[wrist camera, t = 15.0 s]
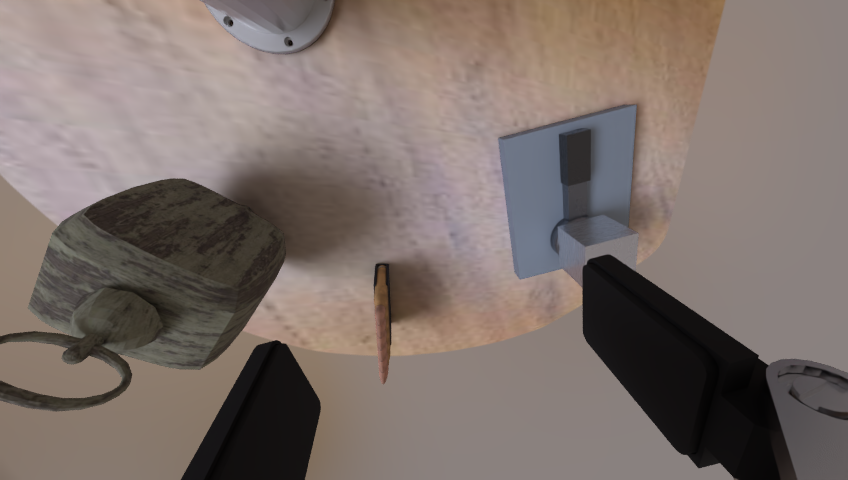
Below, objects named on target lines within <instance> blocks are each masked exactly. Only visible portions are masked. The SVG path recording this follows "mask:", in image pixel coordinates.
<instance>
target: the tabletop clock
mask: <svg viewBox="0 0 848 480" xmlns="http://www.w3.org/2000/svg"><path fill="white" fill-rule="evenodd" d="M285 255H286V251H285V241H284V233H283V232H282V231H281V230H279V229H278V228H277V227H276V226H274V225H273V224H271V223H270V222H268V221H266V220H265V219H263V218H261V217H259V216H258V215H256V214H254V213H253V212H252V211H251V209H250V208H249V207H247V206H240V205H239V204H237V203H235V202H233V201H231V200H229V199H227V198H225V197H223V196H221V195H219V194H218V193H216V192H214V191H212V190H210V189H208V188H206V187H204V186H202V185H199V184H197V183H195V182H192V181H189V180H186V179H166V180H160V181H156V182H152V183H148V184H145V185H141V186H137V187H133V188H130V189H128V190H125V191H123V192H120V193H118V194H115V195H112V196H110V197H107V198H105V199H102V200H100V201H98V202H96V203H94V204H92V205H90V206H88V207H86V208H84V209H83V210H81V211H79V212H77V213H75V214H73V215H72V216H70V217H69V218H67V219H65V220H64V221H62V222H61V223H60V225H59V226H58V227H57V228H56V229H55V231H54V232H53V233H52V236H51V239H50V242H49V245H48V248H47V251H46V254H45V257H44V260H43V263H42V267H41V270H40V272H39V276H38V278H37V282H36V285H35V288H34V291H33V294H32V297H31V300H30V303H29V306H28V309H29V310H30V311H31V312H33V313H34V314H35V315H36V316H37V317H38V318H39V319H40V320H41V321H43V322H45V323H46V324H48V325H50V326H51V327H53V328H56V329H58V330H60V331H62V332H64V333H67V334H70V335H72V336H69V335H64V334H58V333H57V334H56V333H47V332H35V331H33V332H23V333H13V334H8V335H4V336H0V344H2V343H6V342H23V341H24V342H25V341H32V342H39V343H47V344H55V345H59V346H62V347H65V348H68V349H67V350H66V351H65V352H64V353H63V355H62V360H63V361H64V362H66V363H67V364H76V363H79V362H82V361H83V360H84V359H86V358H87V357H88V356H92V357H95V358H98V359H101V360H103V361H105V362H106V363H107V364H109V365H110V366H112V367H113V368H115V369H116V370H117V371H118V373H119V374H120V376H121V377H122V381H121V383H120V385H119V386H118V387H117V388H115V389H114V390H112V391H110V392H107V393H105V394H102V395H97V396H92V397H87V398H59V397H53V396H47V395H41V394H37V393H34V392H30V391H27V390H23V389H20V388H17V387H14V386H12V385H9V384H7V383H5V382H2V381H0V401H4V402H8V403H12V404H15V405H19V406H22V407H26V408H33V409H40V410H48V411H67V410H81V409H85V408H89V407H93V406H97V405H101V404H104V403H106V402H108V401H110V400H112V399H114V398H116V397H117V396H119V395H120V394H121V393H122V392H124V391H125V390H126V389H127V387H128V386H129V384H130V382H131V378H132V373H131V370H130V367H129V364H128V363H127V362H126V361H125V360H124V359H122V358H121V357H120V356H119V355H118V354H121V355H125V356H128V357H132V358H136V359H140V360H143V361H146V362H150V363H154V364H157V365H161V366H165V367H169V368H177V369H198V370H199V369H201V368H203V367H205V366H206V365H208V364H209V363H211V362H212V361H214V360H215V359H217V358H218V357H219V356H220V355H221V354H222V353H223V352H224V351H225V350H226V349H227V348H228V347H229V346H230V344H231V343H232V342H233V341H234V339H235V338H236V337H237V336H238V335H239V333H240V332H241V331H242V330H243V328H244V327H245V326H246V324H247V323H248V321H249V319H250V318H251V316H252V315H253V313H254V312H255V310H256V308H257V307H258V305H259V304H260V302H261V301H262V299H263V297H264V296H265V294H266V293H267V291H268V290H269V288H270V286H271V285H272V283H273V282H274V280H275V279H276V277H277V275H278V273H279V271H280V269H281V267H282V264H283V262H284V259H285Z"/></svg>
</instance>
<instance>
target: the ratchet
mask: <svg viewBox="0 0 848 480" xmlns="http://www.w3.org/2000/svg"><path fill="white" fill-rule="evenodd" d="M559 153H560V179H561V183H562V191H563V219H562V220H560V221H559V222H558V223H557V224H556V226H555V227H554V229H553V230H552V233H551V237H550V244H551V247H552V249H553V250H554V251H555V252H556V253H557V254H558V255H559V244H558V226H562V225H566V224H569V223H573V222H577V221H581V220H585V219H588V218H590V217H589V216H587V181H590V180H591V129H585V128H580V129H577V130H573V131H569V132H565V133H561V134H559Z"/></svg>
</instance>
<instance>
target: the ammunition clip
mask: <svg viewBox="0 0 848 480" xmlns="http://www.w3.org/2000/svg"><path fill="white" fill-rule="evenodd" d="M374 304H375V319H376V332H377V333H376V335H377V348H378V362H379V375H380V380H381V382H382V384H384V383H385V382H386V379H387V375H388V365H389V359H390V345H391V306H390V284H389V264H376V265H375V277H374Z"/></svg>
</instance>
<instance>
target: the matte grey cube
mask: <svg viewBox="0 0 848 480" xmlns="http://www.w3.org/2000/svg"><path fill="white" fill-rule="evenodd" d="M638 235H639V233H638V232H636V231H634V230H632V229H630V228H628V227H626V226H624V225H622V224H620V223H618V222H617V221H615V220H613V219H611V218H609V217H607V216H605V215H600V216H596V217H592V218H588V219H585V220H581V221H577V222H573V223H569V224H566V225H562V226H558V244H559V264H560V267H561V268H562V269H563V270H564V271H565V272H567V273H568V274H569V275H570V276H571V277H572V278H573V279H574V280H575V281H576V282H577V283H578V284H579V285H580V286H581V287H582V288H583V284H582V269H583V266H584V265H587V261H588V260H589V259H591V258H595V257H599V256H603V255H606V254H610V255H612V256H614V257H615V258H617V259H618V260H620V261H621V262H622V263H624V264H625V265H627V266H628V267H630V268H631V269H633V270H634V271H636V260H637V247H638Z"/></svg>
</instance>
